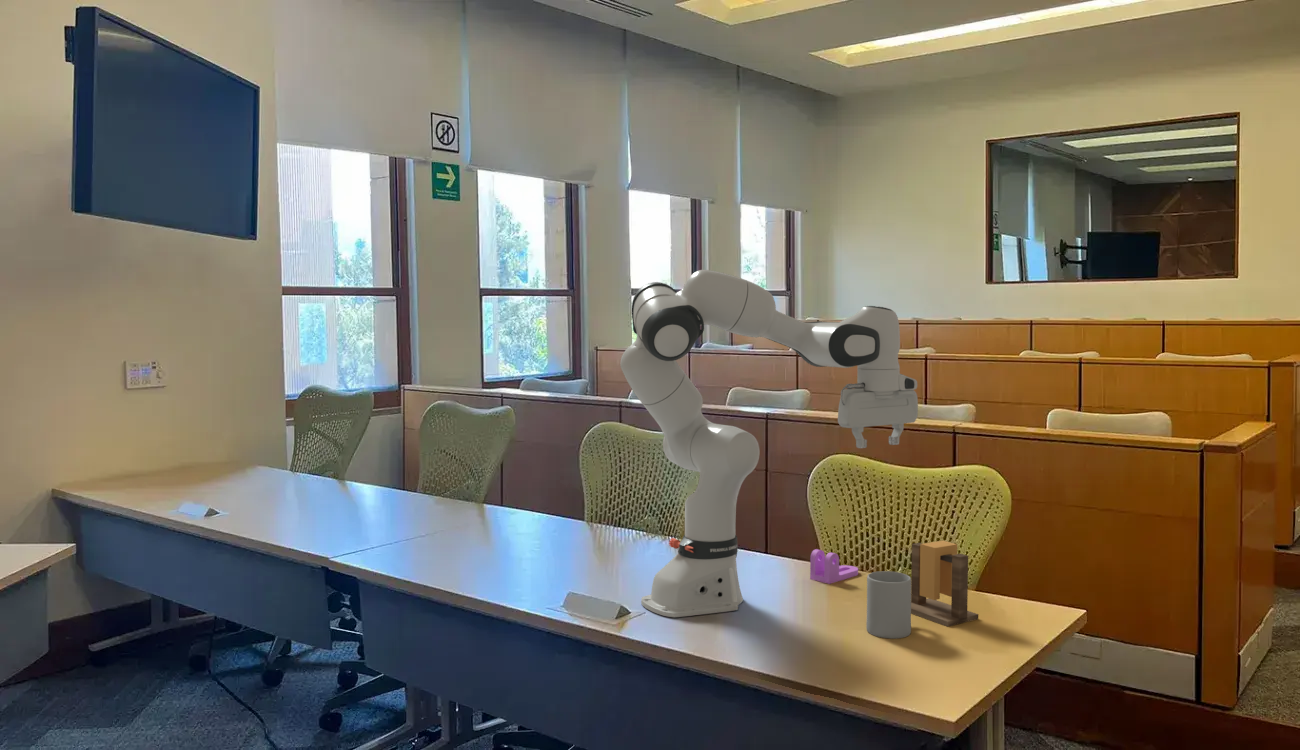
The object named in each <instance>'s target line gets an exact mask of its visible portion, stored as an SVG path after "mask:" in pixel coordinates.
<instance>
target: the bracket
mask: <svg viewBox="0 0 1300 750" xmlns="http://www.w3.org/2000/svg"><path fill="white" fill-rule="evenodd" d="M809 557H810V559H809V563H810V566H809V567H810V570H809V571H810V572H809V575H810V576H809V577H810V580H812V581H816V582H821V583H824V584H828V585H831V584H833V583H837V582H841V581H845V580H846V579H850V578H853V577H856V576H858V575H859V568H858V567H857V566H853V565H845V564H842V565H840V556H839V555H838V554H837V553H836V552H828V553H826V554H825V552H824V550H822V549H818V548H816V549H813V550H812V551H811V553H810V556H809Z"/></svg>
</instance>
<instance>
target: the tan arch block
mask: <svg viewBox="0 0 1300 750" xmlns="http://www.w3.org/2000/svg"><path fill="white" fill-rule="evenodd" d="M948 554H949V555H956V554H958V544H957V543H953V542H950V541H947V540H943V539H942V540H937V541H932V542H924V543H923V544H920V596H923V597H926V599H932V600H937V601H938V600H940V598H941V595H944V596H947V597H951V598H952V563H950V562H947V561H943V560H940V556H942V555H948Z"/></svg>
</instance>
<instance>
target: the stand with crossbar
mask: <svg viewBox="0 0 1300 750" xmlns="http://www.w3.org/2000/svg"><path fill="white" fill-rule="evenodd" d="M920 544H923V543H922V542H916V543H915V542H914V543H912V544H911V576H910V578H911V615H913V616H914V615H915V616H916V617H920V618H922V619H925V620H928V621H932V622H933V623H937V624H939V625H942V626H945V627H951V626H956V625H960V624H963V623H967V622H968V623H969V622H972V621H975V620H979V614H978V613H976V612H972V611H971V610H968V593H969V591H968V590H969V588H968V587H969V584H968V583H969V582H968V581H969V555H967V554H963V553H957V554H956V555H949V554H948V555H942V556H940V560H943V561H947V562H950V563H952V597H951V601H950V603H951V604H949V603H946V602H943V601H939V600H938V599H937V600H932V599H929V598H926V597H923V596H920Z"/></svg>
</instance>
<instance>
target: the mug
mask: <svg viewBox="0 0 1300 750" xmlns="http://www.w3.org/2000/svg"><path fill="white" fill-rule="evenodd" d="M865 623H866V624H865V625H866V626H865V627H866V632H867V633H868V634H870V635H872V636H875V637H877V638H882V639H902V638H903V639H904V638H906V637H908V636H910V635H911V633H912V614H911V576H910V575H908V574H907V573H902V572H898V571H889V570H888V571H886V570H883V571H881V570H880V571H873V572H871V573H868V574H867V577H866V622H865Z"/></svg>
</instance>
